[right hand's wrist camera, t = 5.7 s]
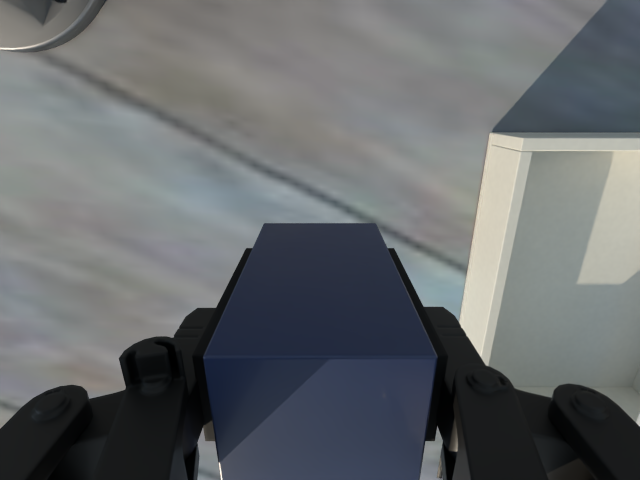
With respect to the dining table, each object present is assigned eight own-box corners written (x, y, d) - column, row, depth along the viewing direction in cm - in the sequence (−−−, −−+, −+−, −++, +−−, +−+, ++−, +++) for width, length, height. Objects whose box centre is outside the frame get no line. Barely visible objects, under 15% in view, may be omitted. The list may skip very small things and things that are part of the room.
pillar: (263, 222, 14) (201, 356, 7) (376, 222, 14) (439, 356, 7) (269, 318, 16) (224, 512, 8) (370, 318, 16) (415, 512, 8)
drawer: (489, 132, 26) (563, 143, 18) (732, 132, 26) (912, 143, 18) (447, 391, 34) (485, 476, 26) (630, 392, 34) (722, 477, 26)
